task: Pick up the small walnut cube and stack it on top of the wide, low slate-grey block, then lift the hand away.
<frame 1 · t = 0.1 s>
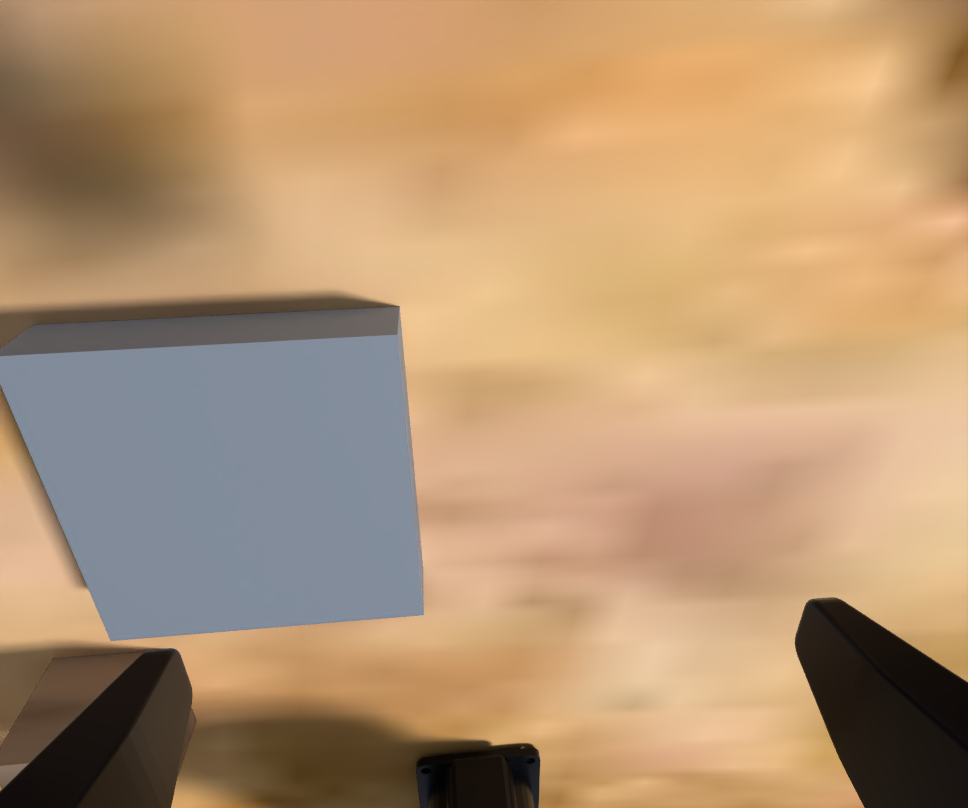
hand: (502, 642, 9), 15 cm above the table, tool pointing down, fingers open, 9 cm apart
walnut cube: (128, 689, 30), on the table
slate block: (257, 457, 25), on the table
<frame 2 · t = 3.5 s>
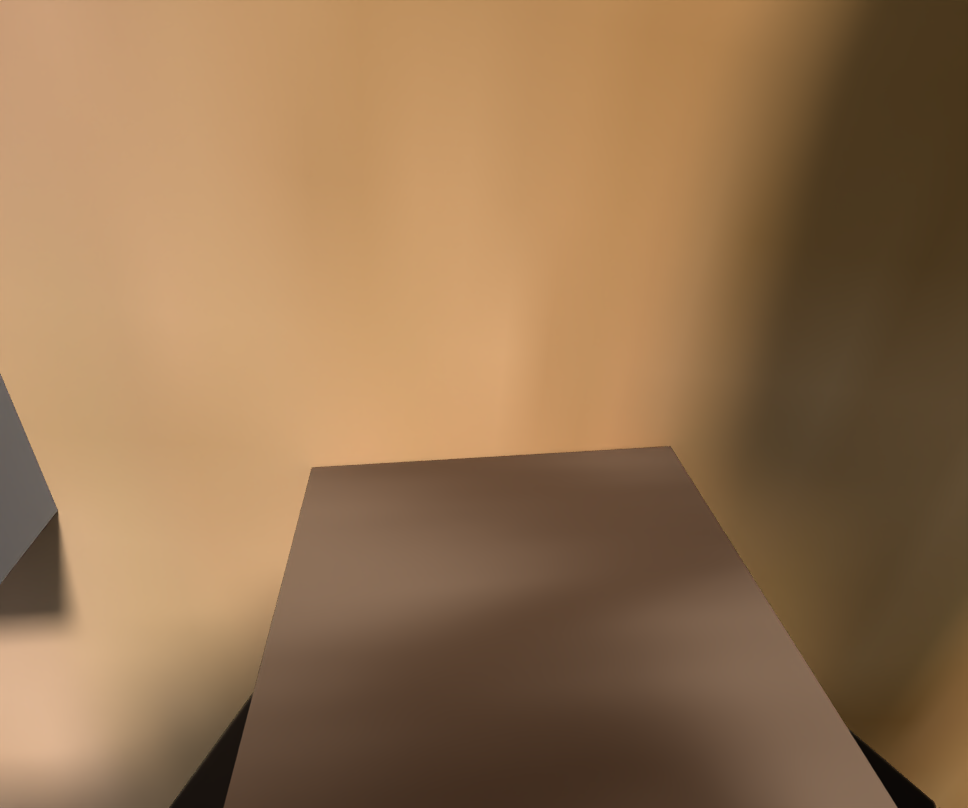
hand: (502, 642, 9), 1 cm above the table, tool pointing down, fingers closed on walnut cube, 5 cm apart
walnut cube: (495, 589, 10), on the table, touching gripper
when the fingers open (5 cm above the table, at t = 7.9 s): walnut cube drops 2 cm, resting on slate block.
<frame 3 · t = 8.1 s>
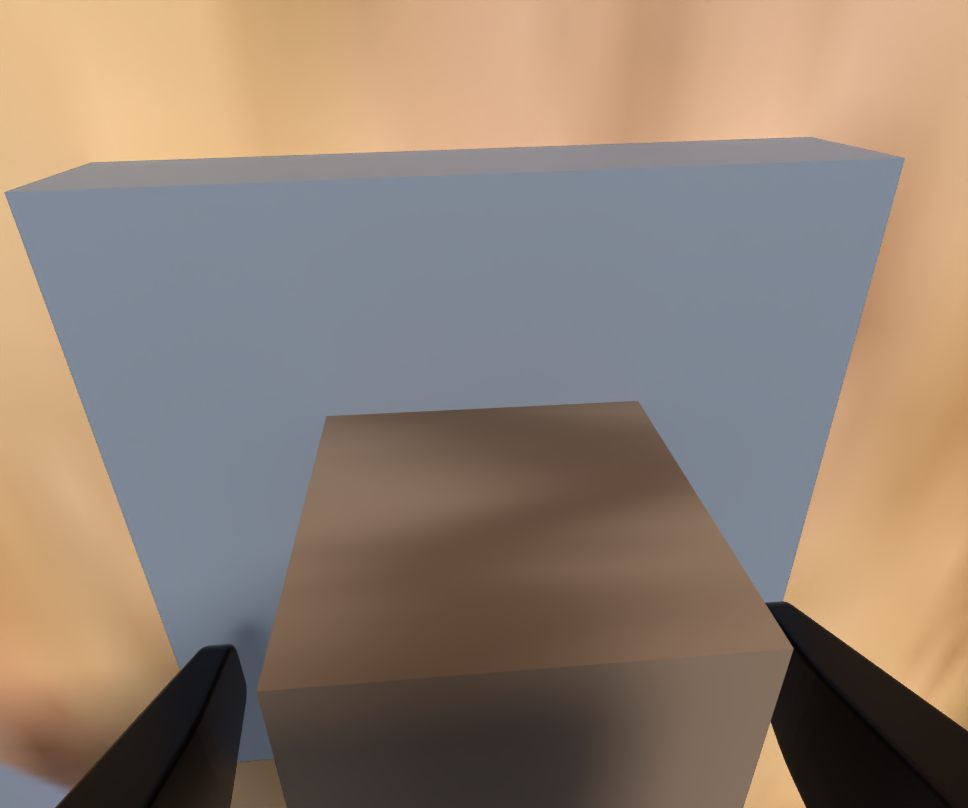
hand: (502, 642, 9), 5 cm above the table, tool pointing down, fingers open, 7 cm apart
walnut cube: (485, 530, 12), point 2 cm above the table, touching slate block
slate block: (472, 438, 14), on the table, touching walnut cube
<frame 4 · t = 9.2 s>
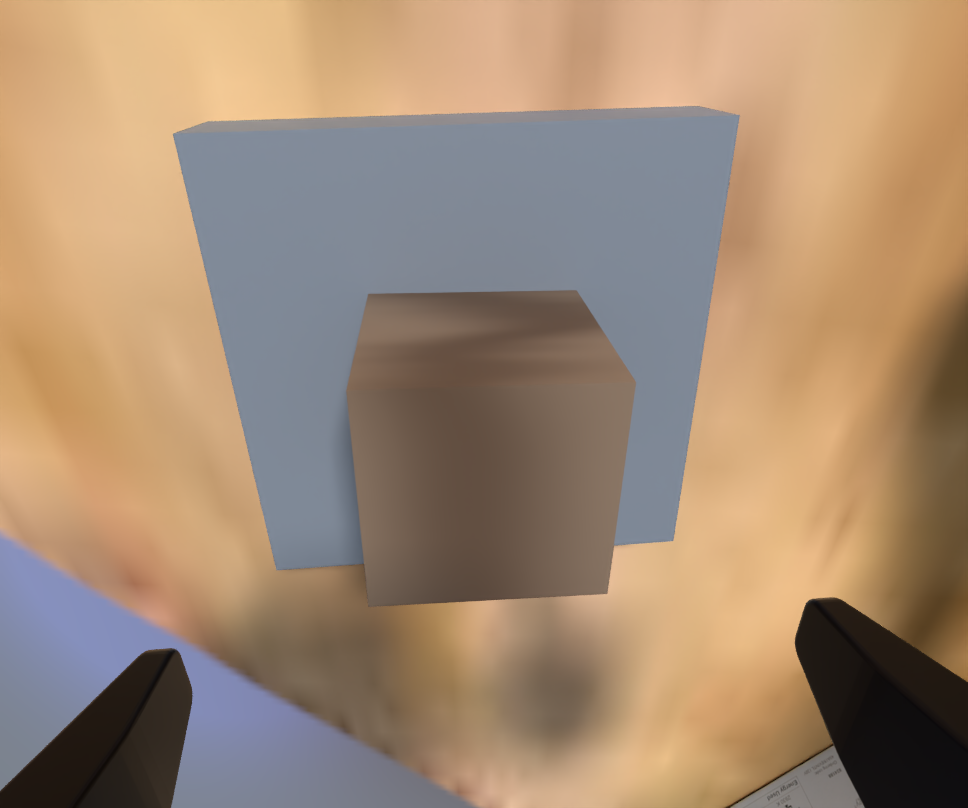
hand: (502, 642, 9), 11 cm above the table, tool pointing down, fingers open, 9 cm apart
walnut cube: (473, 385, 17), point 2 cm above the table
light bulb box: (821, 786, 32), on the table
slate block: (465, 332, 19), on the table
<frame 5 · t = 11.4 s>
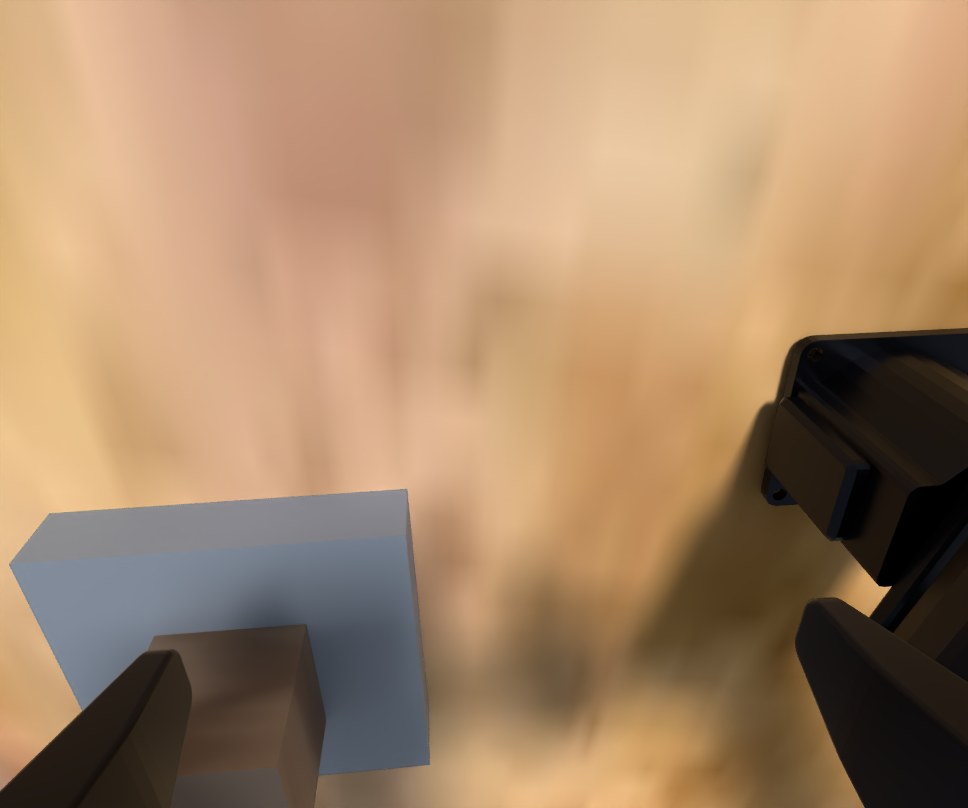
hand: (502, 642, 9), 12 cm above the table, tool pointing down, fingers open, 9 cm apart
walnut cube: (245, 680, 23), point 2 cm above the table
slate block: (267, 614, 26), on the table
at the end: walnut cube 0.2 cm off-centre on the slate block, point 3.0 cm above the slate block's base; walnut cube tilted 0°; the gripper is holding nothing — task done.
